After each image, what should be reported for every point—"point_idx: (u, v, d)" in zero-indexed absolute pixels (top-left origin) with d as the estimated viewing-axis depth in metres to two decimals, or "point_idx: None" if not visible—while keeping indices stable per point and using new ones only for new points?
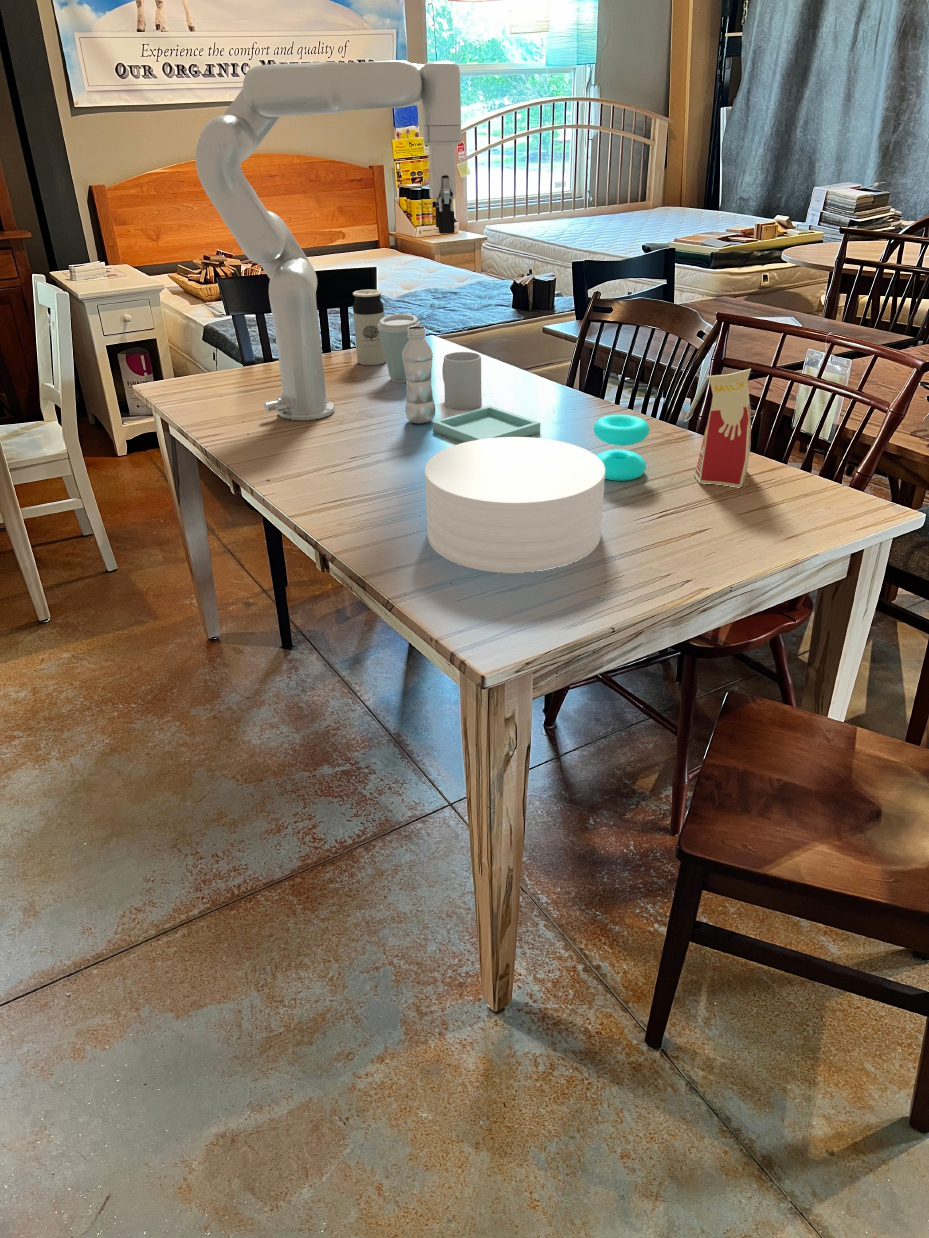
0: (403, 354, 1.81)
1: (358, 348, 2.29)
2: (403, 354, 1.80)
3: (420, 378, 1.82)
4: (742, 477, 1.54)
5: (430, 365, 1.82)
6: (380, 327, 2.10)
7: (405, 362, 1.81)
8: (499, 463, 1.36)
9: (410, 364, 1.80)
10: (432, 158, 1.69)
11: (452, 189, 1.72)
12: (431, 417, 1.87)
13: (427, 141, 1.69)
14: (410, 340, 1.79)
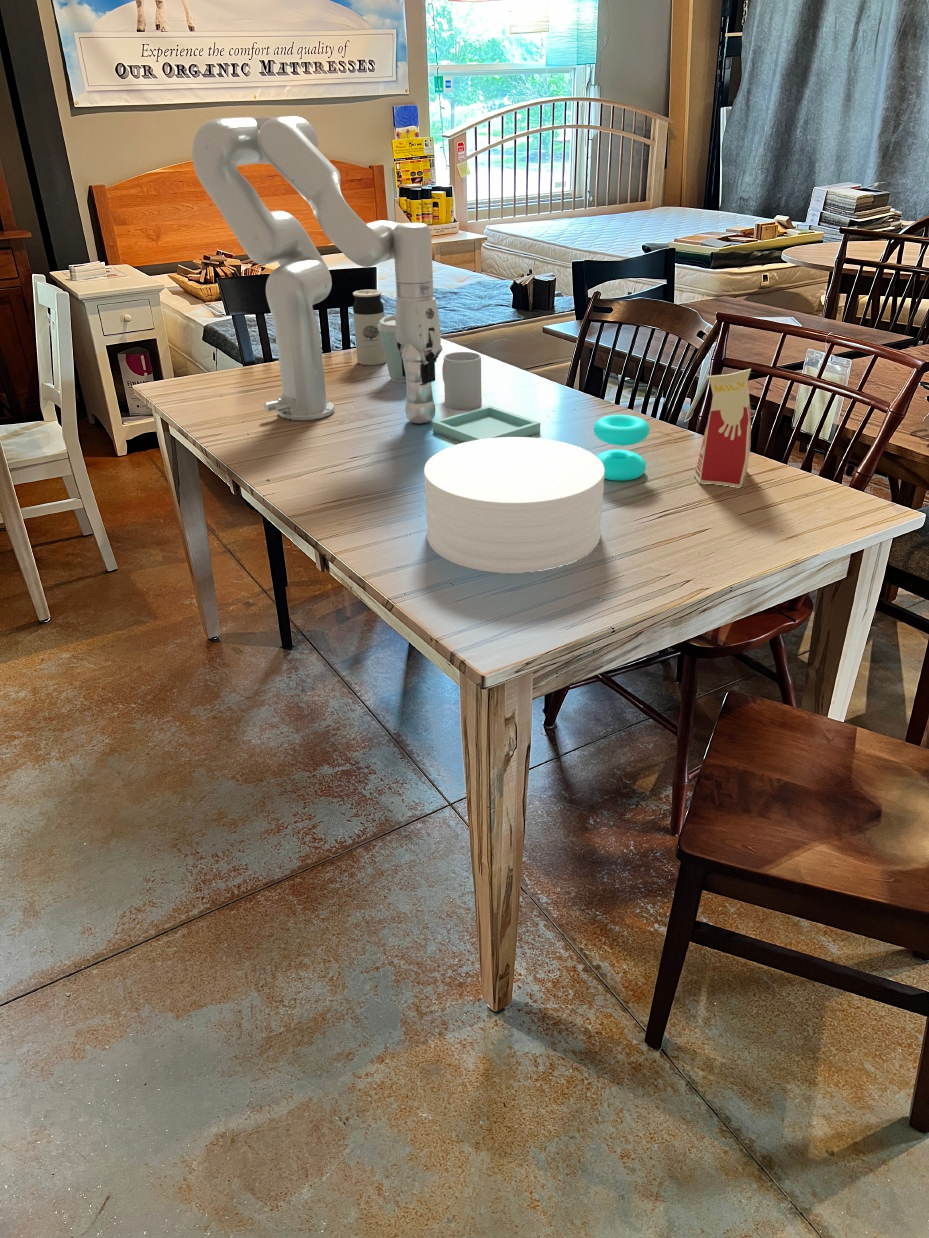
0: (403, 354, 1.81)
1: (358, 348, 2.29)
2: (403, 354, 1.80)
3: (420, 378, 1.82)
4: (742, 477, 1.54)
5: None
6: (380, 327, 2.10)
7: (405, 362, 1.81)
8: (498, 463, 1.36)
9: (410, 364, 1.80)
10: None
11: None
12: (431, 417, 1.87)
13: None
14: None
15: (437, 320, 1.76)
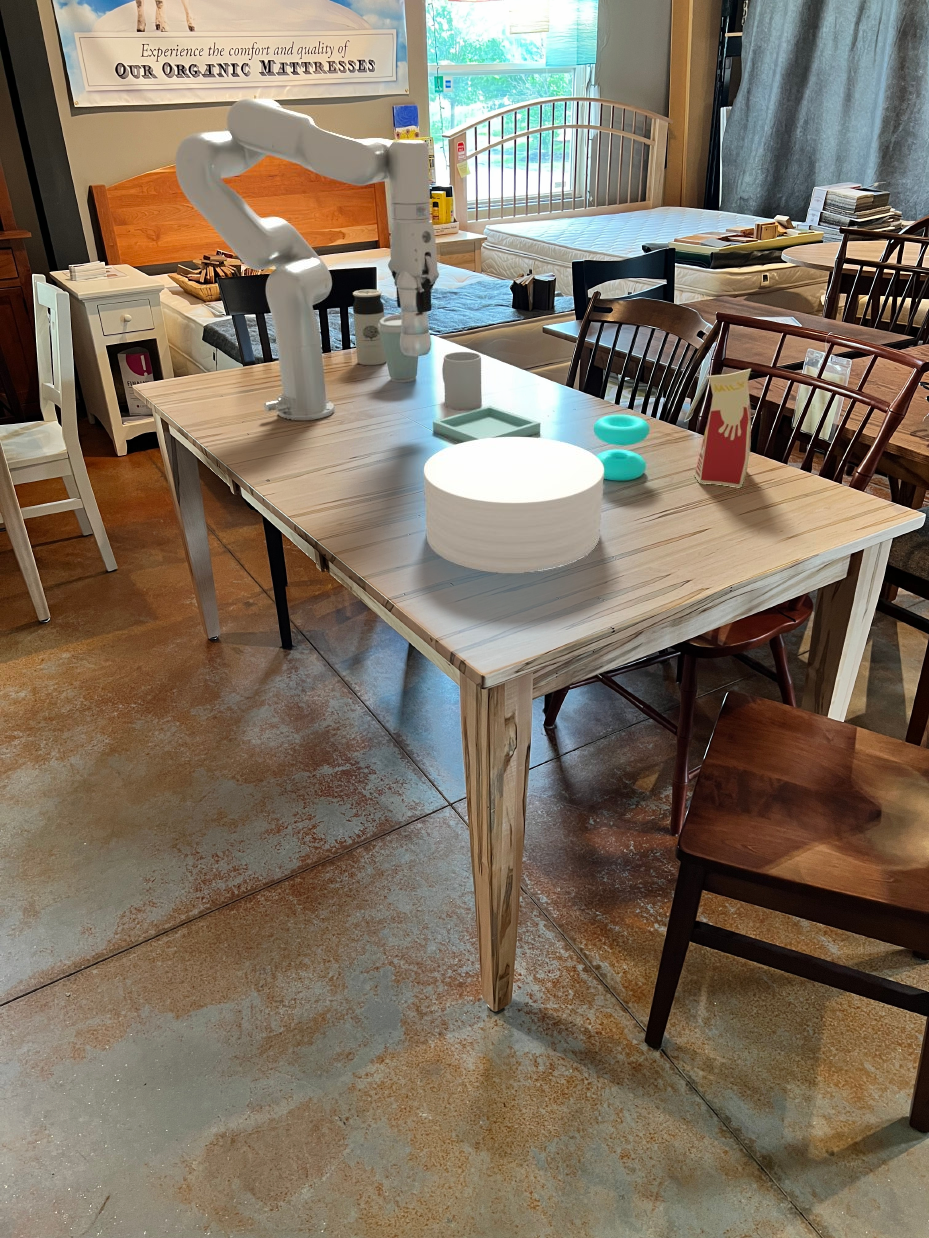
0: (398, 282, 1.73)
1: (358, 348, 2.29)
2: (398, 282, 1.73)
3: (415, 307, 1.75)
4: (742, 477, 1.54)
5: None
6: (380, 327, 2.10)
7: (400, 290, 1.74)
8: (498, 463, 1.36)
9: (405, 292, 1.73)
10: None
11: None
12: (427, 350, 1.80)
13: None
14: None
15: (434, 245, 1.69)
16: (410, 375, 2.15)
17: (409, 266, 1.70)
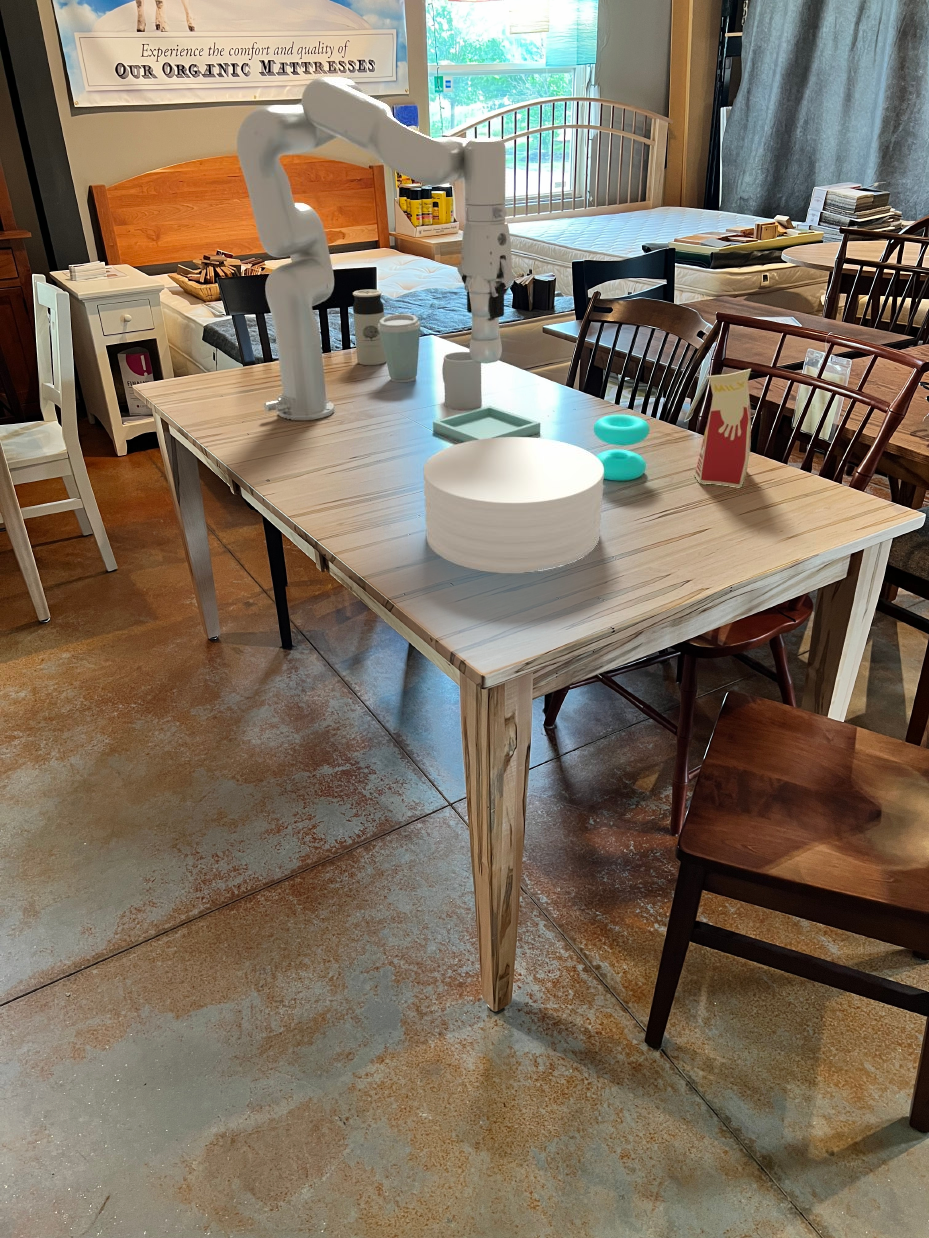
0: (470, 286, 1.66)
1: (358, 348, 2.29)
2: (470, 286, 1.66)
3: (488, 312, 1.68)
4: (742, 477, 1.54)
5: None
6: (380, 327, 2.10)
7: (472, 295, 1.67)
8: (498, 463, 1.36)
9: (478, 296, 1.66)
10: None
11: None
12: (498, 357, 1.73)
13: None
14: None
15: (509, 247, 1.62)
16: (410, 375, 2.15)
17: (483, 270, 1.64)
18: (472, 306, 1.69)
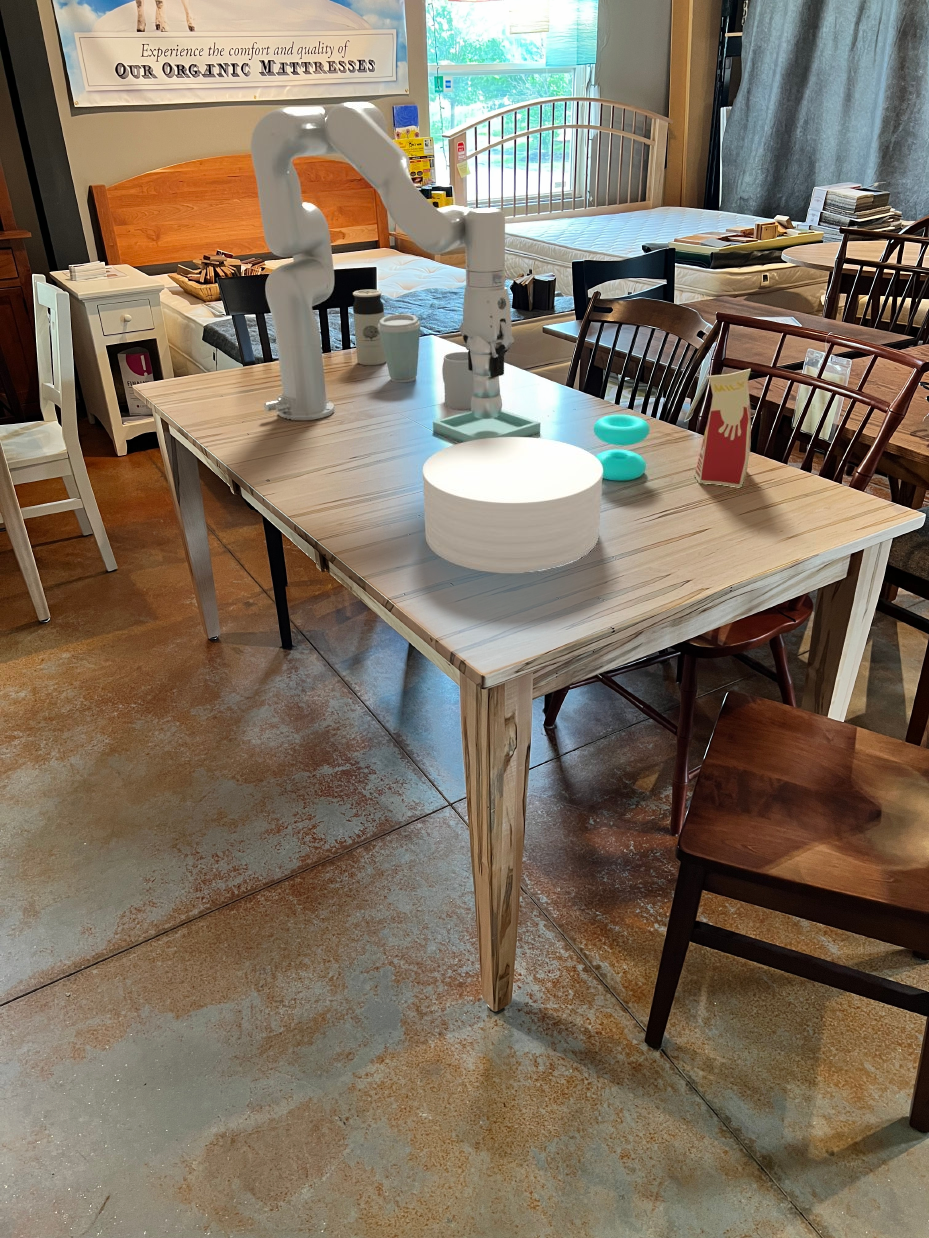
0: (471, 346, 1.72)
1: (358, 348, 2.29)
2: (471, 347, 1.72)
3: (488, 371, 1.74)
4: (742, 477, 1.54)
5: None
6: (380, 327, 2.10)
7: (473, 355, 1.73)
8: (497, 463, 1.36)
9: (479, 356, 1.72)
10: None
11: None
12: (498, 412, 1.79)
13: None
14: None
15: (509, 311, 1.68)
16: (410, 375, 2.15)
17: (483, 332, 1.69)
18: (473, 365, 1.74)
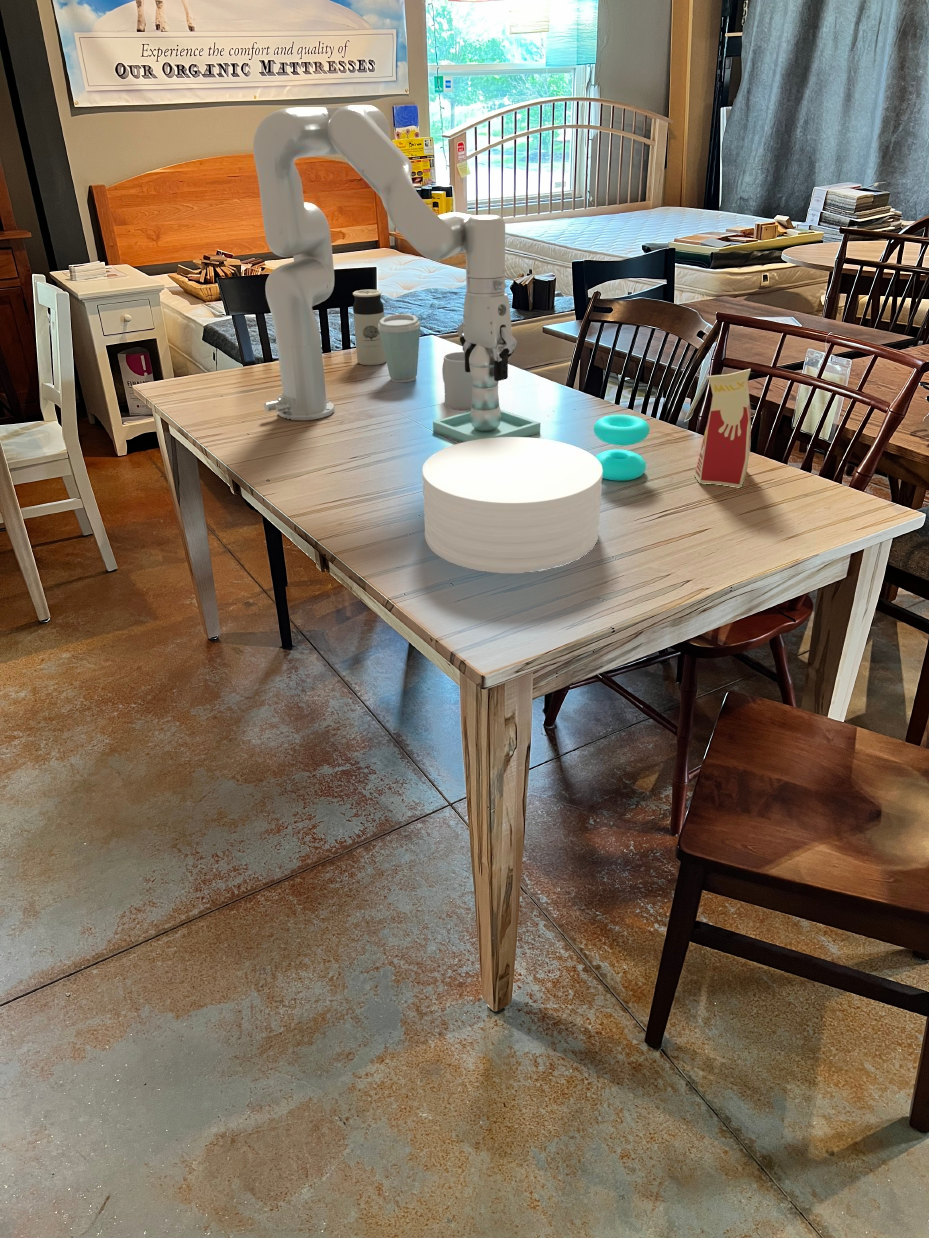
0: (470, 359, 1.74)
1: (358, 348, 2.29)
2: (471, 360, 1.74)
3: (487, 384, 1.75)
4: (742, 477, 1.54)
5: None
6: (380, 327, 2.10)
7: (472, 367, 1.74)
8: (496, 463, 1.36)
9: (478, 369, 1.73)
10: None
11: None
12: (497, 424, 1.80)
13: None
14: None
15: (509, 317, 1.68)
16: (410, 375, 2.15)
17: (483, 338, 1.70)
18: (472, 378, 1.76)
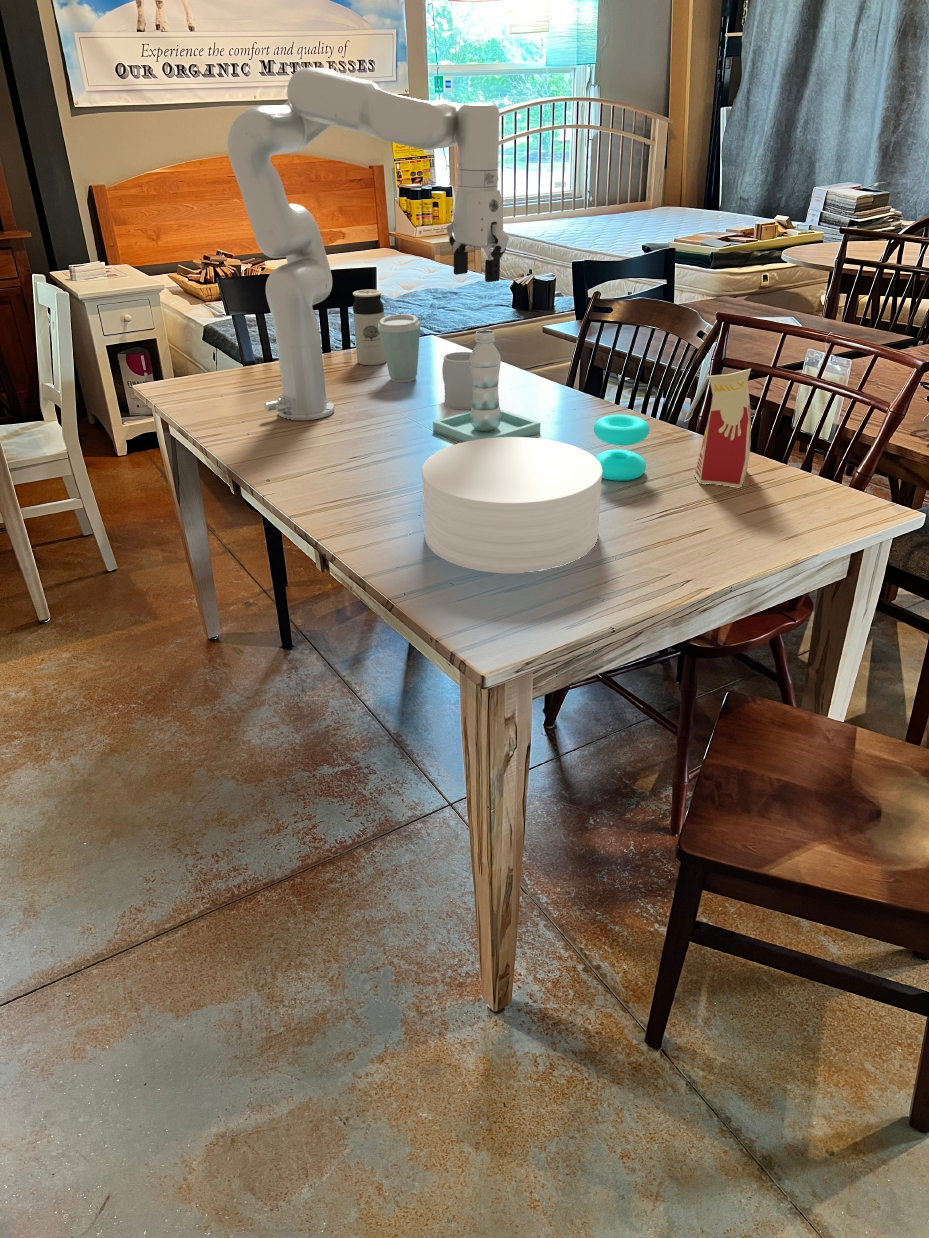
0: (471, 359, 1.74)
1: (358, 348, 2.29)
2: (471, 360, 1.74)
3: (487, 384, 1.75)
4: (742, 477, 1.54)
5: (498, 371, 1.75)
6: (380, 327, 2.10)
7: (472, 367, 1.74)
8: (496, 463, 1.36)
9: (478, 369, 1.73)
10: None
11: None
12: (497, 424, 1.80)
13: None
14: (478, 345, 1.73)
15: (501, 214, 1.62)
16: (410, 375, 2.15)
17: (474, 236, 1.63)
18: (472, 378, 1.76)
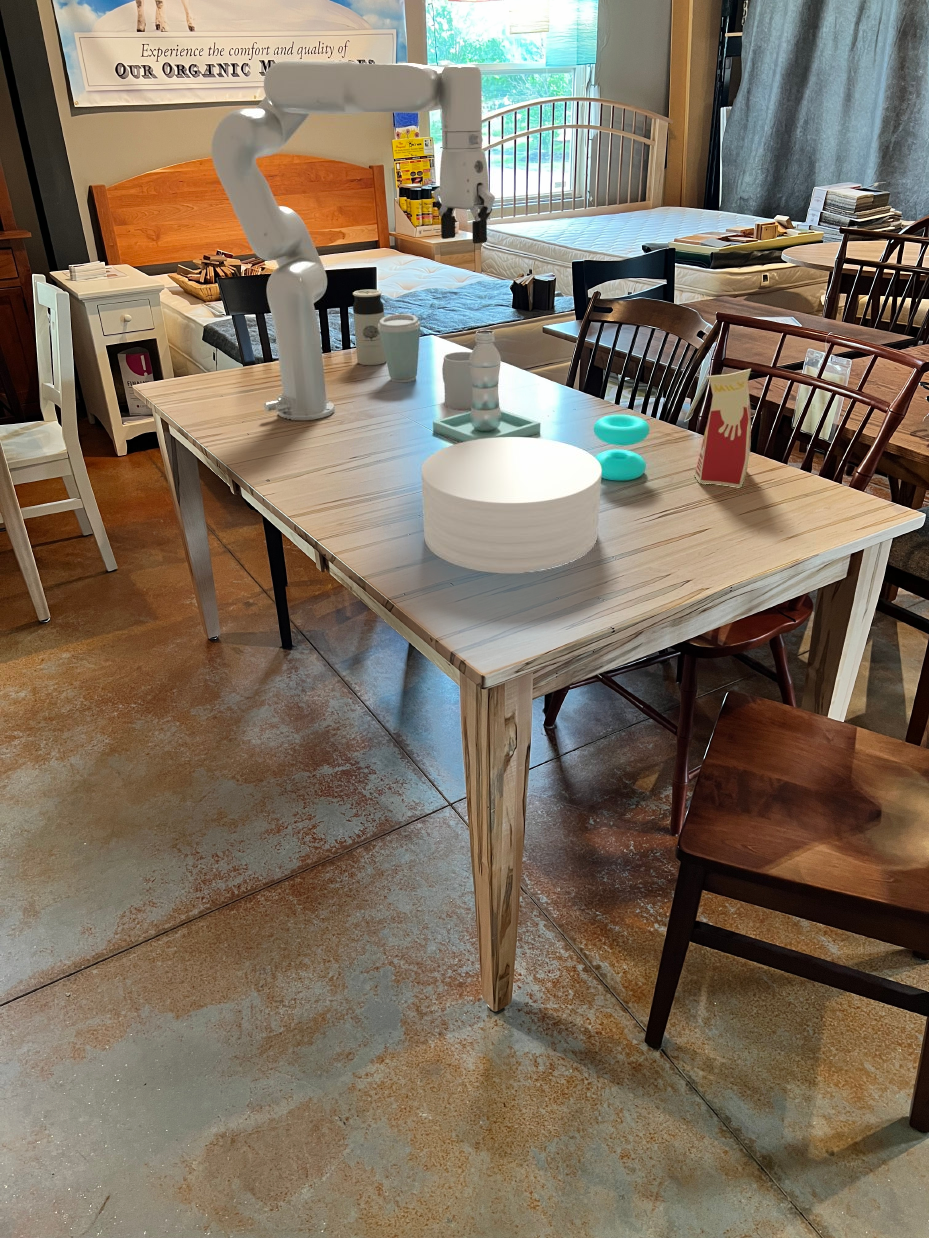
0: (471, 359, 1.74)
1: (358, 348, 2.29)
2: (471, 360, 1.74)
3: (488, 384, 1.75)
4: (742, 477, 1.54)
5: (498, 371, 1.75)
6: (380, 327, 2.10)
7: (472, 367, 1.74)
8: (495, 463, 1.36)
9: (478, 369, 1.73)
10: None
11: None
12: (497, 424, 1.80)
13: None
14: (478, 345, 1.73)
15: (486, 175, 1.64)
16: (410, 375, 2.15)
17: (460, 198, 1.66)
18: (472, 378, 1.76)
